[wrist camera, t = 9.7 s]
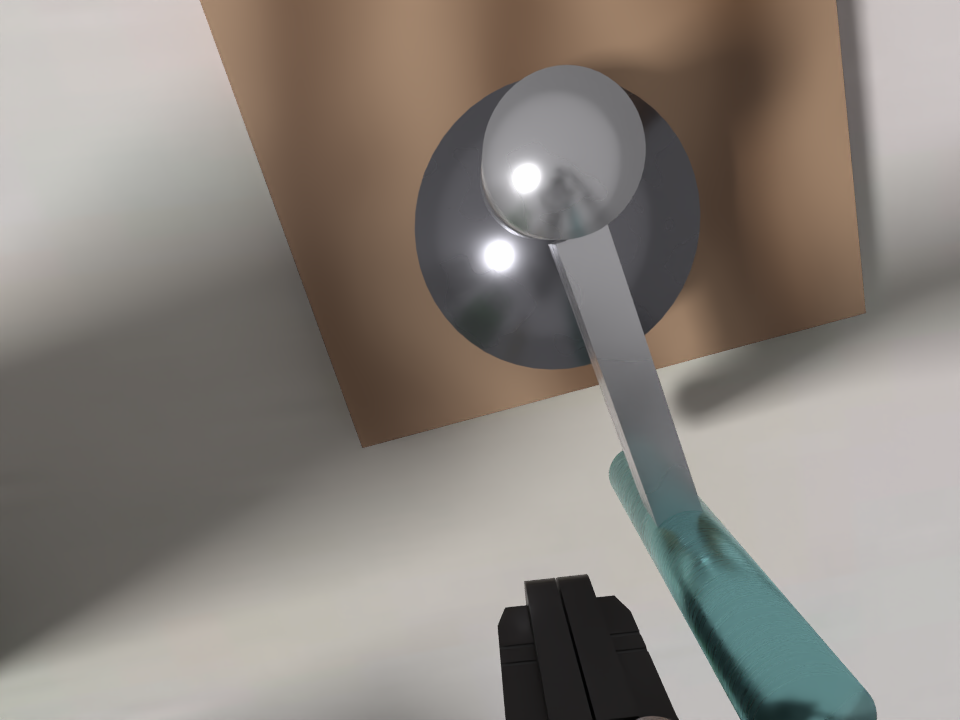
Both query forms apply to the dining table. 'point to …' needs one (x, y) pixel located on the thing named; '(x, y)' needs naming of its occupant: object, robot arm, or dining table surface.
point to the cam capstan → (612, 340)
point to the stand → (479, 72)
